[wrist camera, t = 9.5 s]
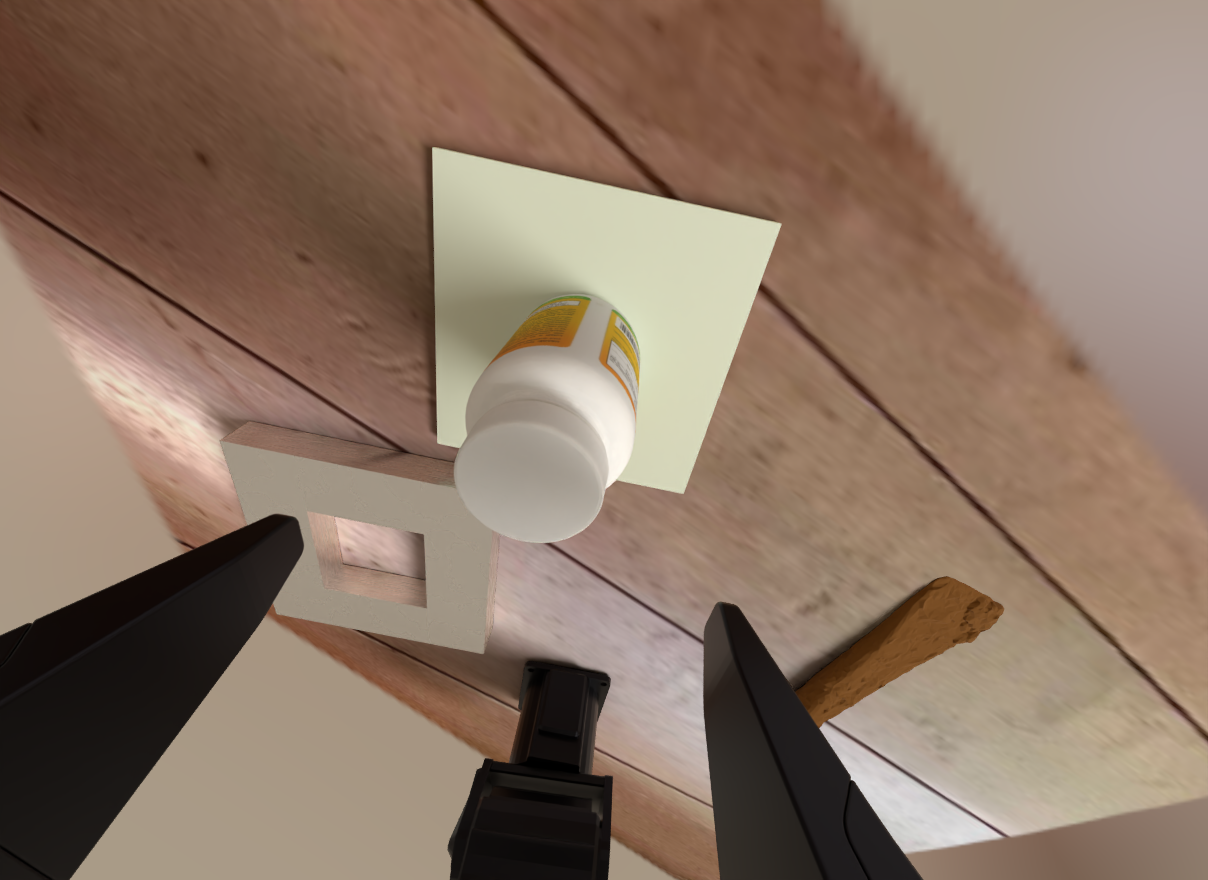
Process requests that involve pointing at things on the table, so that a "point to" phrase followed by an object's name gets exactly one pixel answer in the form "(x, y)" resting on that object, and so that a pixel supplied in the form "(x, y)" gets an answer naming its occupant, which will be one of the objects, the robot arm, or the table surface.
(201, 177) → the table surface
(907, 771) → the table surface
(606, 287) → the sage pad
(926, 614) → the primitive tool
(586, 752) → the robot arm
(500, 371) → the supplement bottle
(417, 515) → the post foot
